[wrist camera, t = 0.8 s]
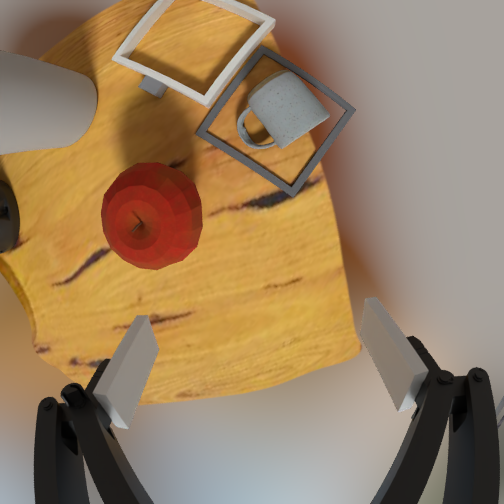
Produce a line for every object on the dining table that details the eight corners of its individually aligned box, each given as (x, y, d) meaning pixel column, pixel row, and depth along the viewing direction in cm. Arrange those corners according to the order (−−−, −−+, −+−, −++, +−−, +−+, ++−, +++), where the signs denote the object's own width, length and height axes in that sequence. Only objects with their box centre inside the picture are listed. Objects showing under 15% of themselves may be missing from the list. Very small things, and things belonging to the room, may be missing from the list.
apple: (226, 225, 39) (214, 265, 25) (155, 254, 40) (117, 300, 27) (191, 145, 34) (159, 142, 21) (120, 181, 36) (65, 199, 23)
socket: (111, 74, 30) (103, 71, 27) (180, -12, 25) (177, -20, 22) (200, 120, 33) (197, 118, 31) (274, 26, 28) (275, 19, 26)
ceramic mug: (285, 75, 31) (293, 58, 24) (322, 120, 33) (339, 113, 26) (224, 118, 33) (217, 111, 26) (262, 164, 36) (264, 167, 29)
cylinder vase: (77, 159, 34) (-51, 188, 11) (34, 131, 32) (-78, 146, 8) (113, 87, 31) (-12, 50, 7) (64, 66, 28) (-45, 41, 5)
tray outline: (195, 134, 34) (195, 134, 34) (261, 46, 29) (261, 45, 29) (292, 197, 37) (293, 197, 37) (355, 110, 33) (356, 109, 32)
